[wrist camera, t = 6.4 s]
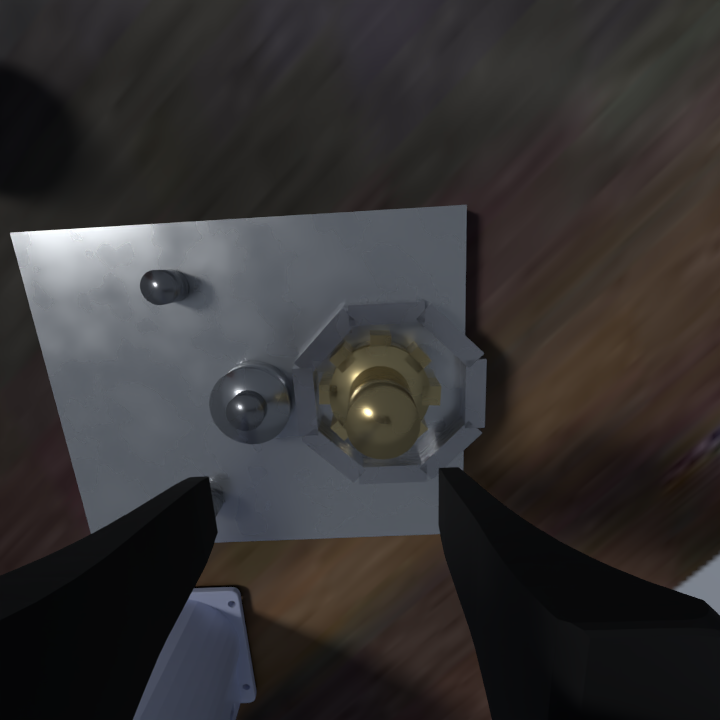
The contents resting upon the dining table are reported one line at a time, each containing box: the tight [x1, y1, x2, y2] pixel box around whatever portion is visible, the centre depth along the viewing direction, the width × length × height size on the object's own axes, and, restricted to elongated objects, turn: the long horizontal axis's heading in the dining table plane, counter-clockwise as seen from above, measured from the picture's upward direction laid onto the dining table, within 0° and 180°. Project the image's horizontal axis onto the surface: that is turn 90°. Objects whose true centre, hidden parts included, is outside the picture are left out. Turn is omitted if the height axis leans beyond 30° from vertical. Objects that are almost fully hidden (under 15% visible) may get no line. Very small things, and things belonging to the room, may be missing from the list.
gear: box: [319, 330, 441, 459], centre depth 18 cm, size 6×6×5 cm
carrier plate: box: [10, 205, 487, 542], centre depth 20 cm, size 18×23×3 cm
